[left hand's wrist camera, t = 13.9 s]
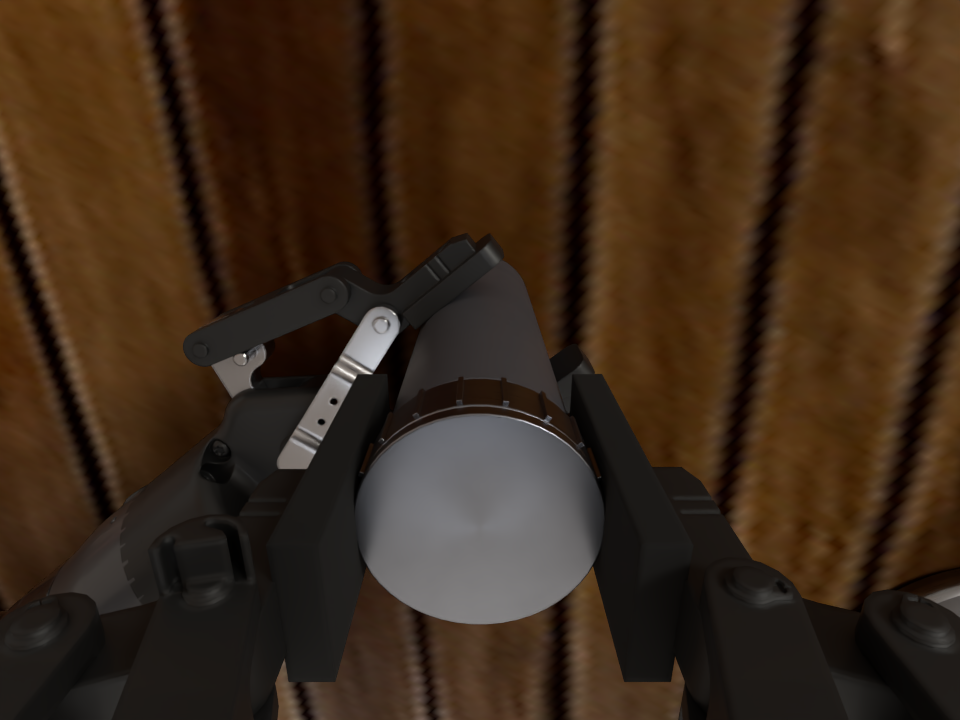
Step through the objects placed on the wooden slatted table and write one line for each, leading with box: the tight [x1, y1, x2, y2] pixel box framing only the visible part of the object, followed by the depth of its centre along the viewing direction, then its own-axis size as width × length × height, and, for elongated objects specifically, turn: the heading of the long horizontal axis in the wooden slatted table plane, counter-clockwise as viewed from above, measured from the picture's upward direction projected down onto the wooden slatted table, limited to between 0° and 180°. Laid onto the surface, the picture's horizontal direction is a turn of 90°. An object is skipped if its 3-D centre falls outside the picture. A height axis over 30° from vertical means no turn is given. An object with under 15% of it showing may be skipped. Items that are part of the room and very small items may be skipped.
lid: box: [354, 376, 605, 624], centre depth 11 cm, size 5×5×2 cm
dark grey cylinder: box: [393, 260, 567, 414], centre depth 18 cm, size 4×4×16 cm
